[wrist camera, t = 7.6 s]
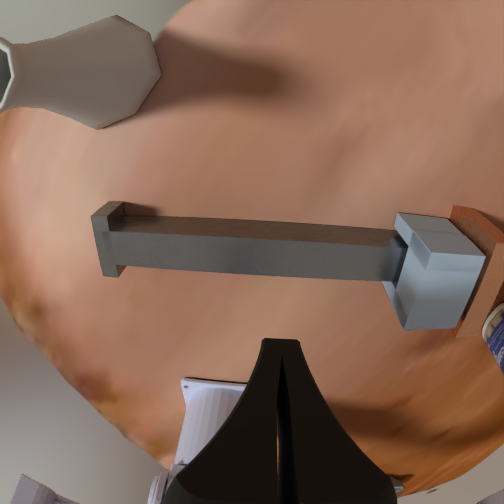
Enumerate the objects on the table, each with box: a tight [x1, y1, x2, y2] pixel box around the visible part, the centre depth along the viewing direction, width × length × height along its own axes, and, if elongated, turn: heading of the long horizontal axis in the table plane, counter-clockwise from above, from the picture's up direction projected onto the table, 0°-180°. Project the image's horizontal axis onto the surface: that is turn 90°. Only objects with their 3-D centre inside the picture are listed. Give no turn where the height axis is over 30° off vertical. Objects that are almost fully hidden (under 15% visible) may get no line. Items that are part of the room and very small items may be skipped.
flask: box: [0, 15, 162, 130], centre depth 11 cm, size 7×7×10 cm
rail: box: [91, 202, 504, 338], centre depth 18 cm, size 7×26×6 cm, turn 88°
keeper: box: [382, 213, 486, 330], centre depth 17 cm, size 5×4×5 cm
